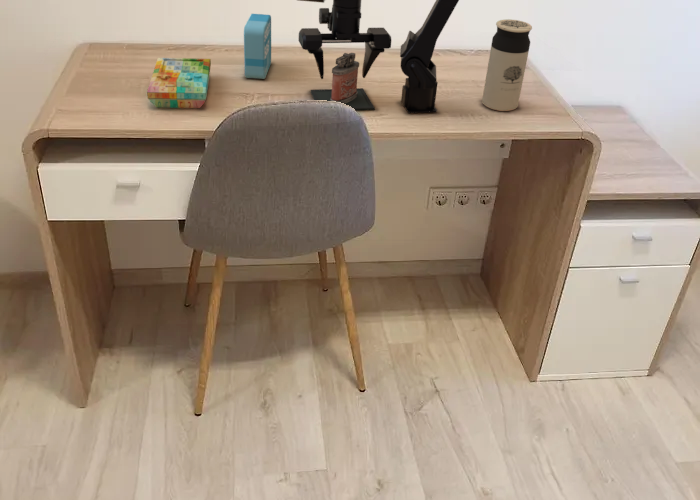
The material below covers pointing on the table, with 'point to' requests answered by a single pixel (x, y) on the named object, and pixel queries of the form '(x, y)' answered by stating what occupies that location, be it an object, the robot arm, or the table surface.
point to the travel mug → (506, 65)
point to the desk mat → (357, 103)
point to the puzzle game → (179, 82)
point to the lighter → (345, 78)
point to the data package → (257, 46)
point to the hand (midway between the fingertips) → (342, 77)
